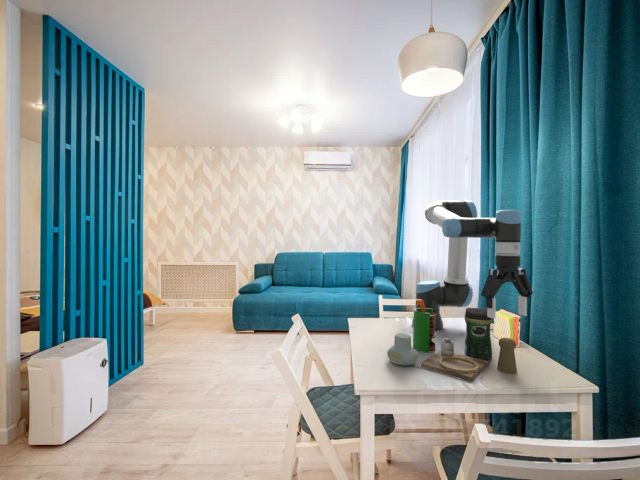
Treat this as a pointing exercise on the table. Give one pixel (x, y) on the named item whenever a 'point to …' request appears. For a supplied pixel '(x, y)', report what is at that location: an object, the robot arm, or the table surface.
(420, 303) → the motor
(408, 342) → the air freshener
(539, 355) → the table surface
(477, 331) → the coffee jar
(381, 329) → the table surface
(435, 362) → the carrier board
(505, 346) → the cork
